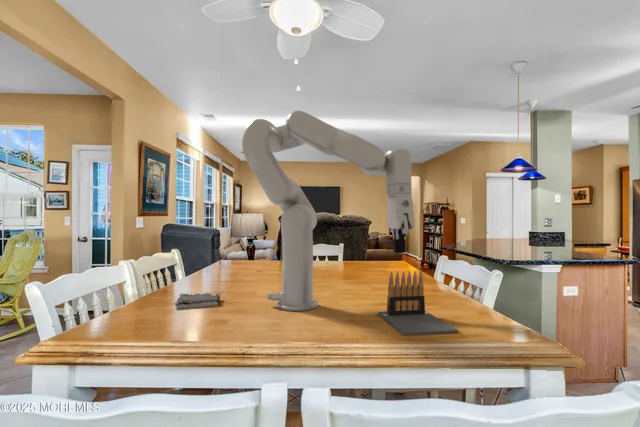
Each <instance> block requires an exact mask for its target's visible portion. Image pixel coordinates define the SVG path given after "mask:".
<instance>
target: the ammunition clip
mask: <svg viewBox="0 0 640 427" xmlns="http://www.w3.org/2000/svg"><path fill="white" fill-rule="evenodd" d="M388 276H389V277H388V288H387V290H388V291H387V299H386V300H387V304H386V305H387V306H386V311H387V314H388V315H389V316H393V315H415V314H425V311H426V306H425V304H426V303H425V300H426V299H425V295H424V293H425V290H424V289H425V288H424V276H423V272H422V270H420V271H419V273H418V276H417V271H416V270H414V271H413V274H412V275H411V271H410V270H408V272H407V276H406V275H405V270H403V271H402V272H401V276H400V274H399V272H398V271H396V273H395V277H394V274H393V271H390V273H389V275H388ZM400 277H401V278H400Z"/></svg>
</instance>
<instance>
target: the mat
mask: <svg viewBox="0 0 640 427" xmlns="http://www.w3.org/2000/svg"><path fill="white" fill-rule="evenodd" d="M377 314H378V315H379V316H380V317H381V318H382V319H384V321H386V322H387V323H388V324H390V325H391V326H392V327H393V328H395V330H397V331H398V332H399V333H400V334H402V335H403V336H417V335H419V336H420V335H436V334H454V333H455V334H456V333H457V334H458V333H459V330H458V329H457V328H456V327H454V326H452V325H450V324H448V323H447V322H446V321H443V320H442V319H440V318H439V317H437V316H435V315H433V314H431V313H430V312H428V311H426V310H425V314H415V315H393V316H389V315H388V314H387V310H386V311H385V310H384V311H378V313H377Z"/></svg>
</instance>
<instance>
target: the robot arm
mask: <svg viewBox="0 0 640 427" xmlns="http://www.w3.org/2000/svg"><path fill="white" fill-rule="evenodd" d="M241 140H242V141H241V142H242V143H241V149H242V152H243V155H244V158H245V160H246V162H247V164H248V166H249V168H250V169H251V171H252V173H253V174H254V176H255V178H256V179H257V181H258V183H259V185H260V186H261V188H262V189H263V192H264V193H265V195H266V196H267V199H268V200H269V202H270V203H271V204H274V205H277V206H279V208H280V209H281V211H282V215H281V218H280V230H281V231H280V232H281V245H282V248H281V249H282V252H281V253H282V269H281V270H282V271H281V272H282V273H281V274H282V276H281V277H282V278H281V279H282V280H281V283H282V284H281V289H280V291H278V292H277V293H272V292H271V293H267V295H266V296H267V300H269V301H277V304H276V306H277V308H279V309H281V310H284V311H293V312H301V311H303V312H304V311H309V310H314V309H316V308H318V304H319V303H318V301H317V300H316V299H315V298H314V295H313V294H314V239H313V237H314V236H313V230H314V229H315V228H316V226H317V223H318V216H317V213H316V211H315V209H314V207H313V205H312V204H311V202H310V201H309V199H308V197H307V196H306V194H305V193H304V191H303V190H302V187H300V185H299V184H298V183H297V182H296V181H295V180H293V179H292V178H290V177H289V176H288V175H287V174H286V172H285V171H284V169H283V168H282V166H281V165H280V163H279V161H278V159H277V158H276V157H275V155H274V154H273V153H275V154H276V153H279V152H283V151H287V150H290V149H294V148H297V147H301V146H304V145H308V146H310V147H312V148H313V149H316V150H317V151H319V152H320V153H323V154H325V155H328V156H335V157H338V158H341V159H343V160H345V161H347V162H349V163H352V164H353V165H356V166H357V167H359V168H360V169H361V171H362V172H363V173H364V174H365V175H366V176H368V177H378V176H382V175H385V197H387V201H386V202H387V203H386V205H387V206H386V224H387V228H389V229H390V233H392V242H393V243H392V246H393V248H392V249H393V253H395V254H405V253H406V252H407V251H406V239H407V234H409V230H413V229H414V227H415V216H414V214H415V213H414V212H415V211H414V202H413V197H412V196H413V195H412V194H413V192H412V190H413V189H412V188H413V187H412V153H411V151H410V150H409V149H406V148H394V149H389V150H388V151H386V152H385V151H383V150H382V149H381V148H380V147H379V146H378V145H375V144H374V143H372V142H370V141H368V140H366V139H364V138H362V137H360V136H358V135H356V134H353V133H350V132H347V131H345V130H342V129H339V128H338V127H335V126H333V125H331V124H329V123H327V122H325V121H323V120H321V119H319V118H317V117H315V116H313V115H311V114H310V113H307V112H305V111H303V110H293V111H292V112H290V113H289V114H288V116H287V117H286V120H285V124H283V125H280V126H276V125H275V124H273V123H272V122H271V121H269V120H266V119H264V118H256V119H253V120H252V121H250V122H249V123H248V125H247V126H246V128H245V130H244V131H243V136H242V139H241Z"/></svg>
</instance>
